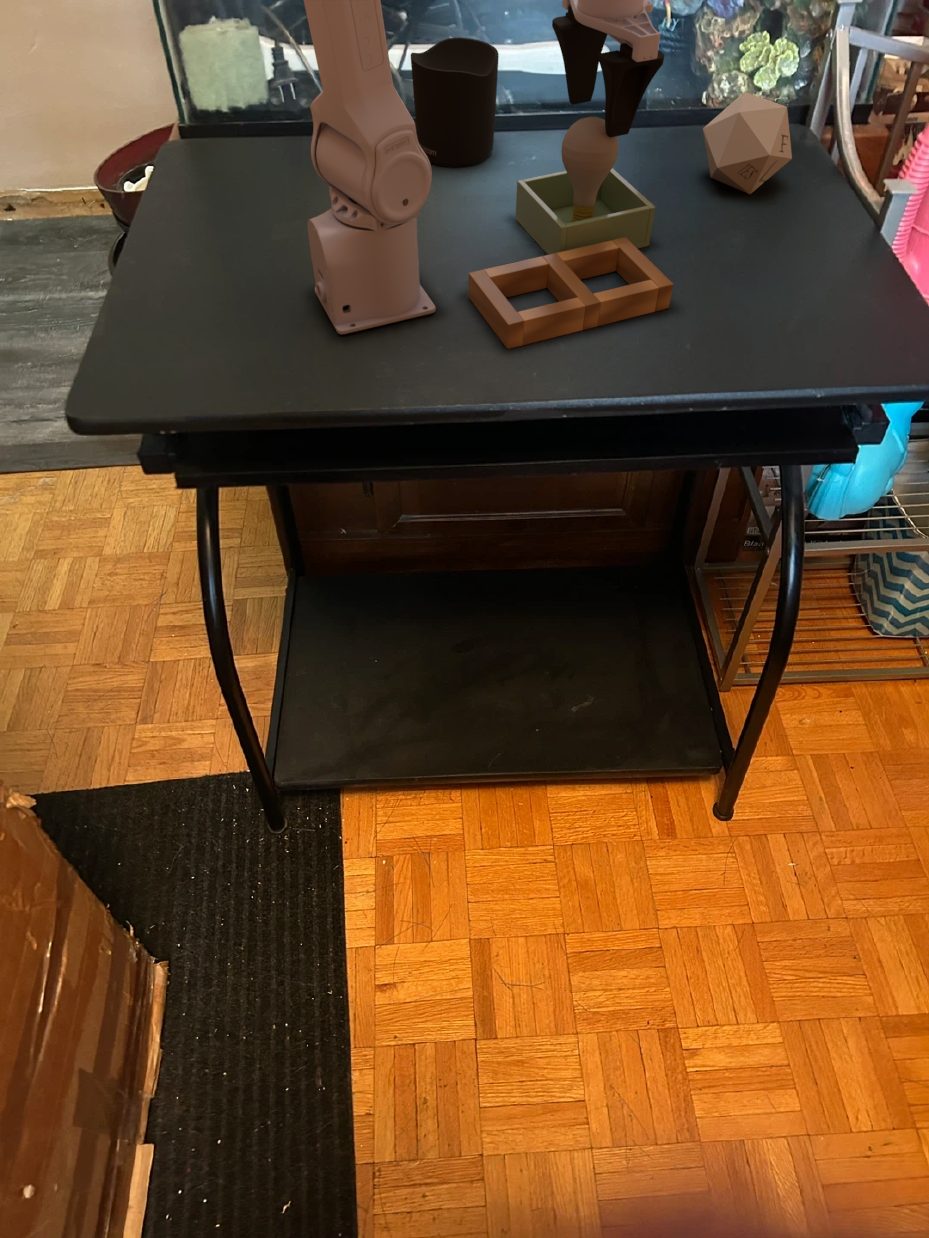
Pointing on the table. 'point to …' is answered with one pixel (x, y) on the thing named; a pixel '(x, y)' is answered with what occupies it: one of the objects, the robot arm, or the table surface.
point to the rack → (568, 291)
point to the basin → (614, 217)
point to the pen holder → (455, 100)
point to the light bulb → (587, 162)
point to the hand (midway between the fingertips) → (598, 118)
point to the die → (748, 142)
